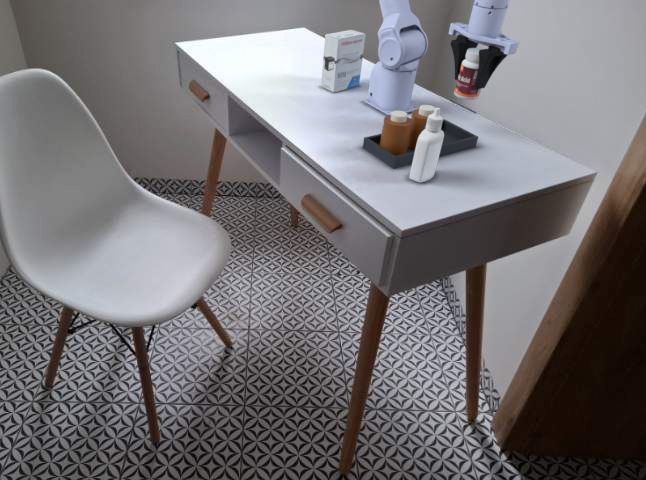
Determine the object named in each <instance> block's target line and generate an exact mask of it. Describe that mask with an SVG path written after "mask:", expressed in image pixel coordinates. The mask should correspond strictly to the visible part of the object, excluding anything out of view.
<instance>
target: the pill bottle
mask: <svg viewBox="0 0 646 480" xmlns="http://www.w3.org/2000/svg"><path fill="white" fill-rule="evenodd" d="M482 49H483V48H480V47H476V48H469V49H467V52H466V57H465V58H466V59H465V60H463V61H462V64H461V68H460V72H459V76H458V79H457V80H456V83H455V88H454V92H453V94H454V96H455V97H457V98H458V99H461V100H465V101H466V100H468V101H475V100H478V99H479V97H480V94H481V91H482V88H481V89H476V88H475V81H476V77H477V73H478V68H479V50H482Z"/></svg>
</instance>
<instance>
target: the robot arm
mask: <svg viewBox="0 0 646 480" xmlns="http://www.w3.org/2000/svg"><path fill="white" fill-rule="evenodd" d="M378 2H379V7H380V11H381V12H380V13H381V16H382V23H381V25H380V26H379V29H378V31H377V37H378V47H377V54H378V59H379V61H377V62H376V63H375V64H374V65H373V67H372V69H371V71H370V77H369V84H368V90H367V96H366V97H367V98H365V99H363V103H366V105H369V106H371V107H372V108H374V109H375V110H378V111H379V112H381V113H382V114H384V115H386V116H388V115H391V113H392V112H393V111H404V112H406V113H407V114H409V113H412V112H413V111H414V110H416V109H419V108H418V107H417V106H415V105H413V104H411V102H412V96H413V92H414V87H415V82H416V77H417V71H418V66H419V64H420V63H419V62H420V59H422V58H423V57H424V56H425V55H426V53H427V51H428V48H429V39H428V35H427V34H426V32H425V30H423V28H422V25H421V21H420V19H419V18H418V17H417V16H416V15H415V14H414V13H413V12H412V10H411V6H410V1H409V0H378ZM509 4H510V0H473V5H472V9H471V14H470V17H469V22H468V24H466V23H462V22H459V21H457V22H451V23H450V25H449V30H448V35H450V36H456V38H455V39H452V40H451V41H450V47H451V50H452V54H453V60H454V61H453V62H454V80H455V81H457V79H458V76H459V72H460V68H461V64H462V61H463V60H465V59H466V58H465V57H466V52H467V49H469V48H478V45H482V46H485V47H487V48H481V49H482V50H479V68H478V73H477V77H476V81H475V88H476V89H481V90H482V89H485V88H486V86H487V84H488V82H489V81H490V79H491V78H492V75H493V74H494V73H495V71H496V69H497V68H498V67H499V66H500V65H501V63H502V62H503V61H504V60H505V59H506V58H507V57H508V56H511V55H515V54H516V53H517V50H518V48H519V43H520V42H519V41H517V40H514V39H513V38H511V37H508V36H507V35H505V34H503V31H502V28H503V26H504V25H503V24H504V22H505V19H506V18H505V17H506V14H507V11H508V7H509Z"/></svg>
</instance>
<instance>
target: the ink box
mask: <svg viewBox="0 0 646 480" xmlns="http://www.w3.org/2000/svg"><path fill="white" fill-rule="evenodd" d="M365 42H366V33H364V32H362V31H357V30H354V29H347V30H342V31H337V32H332V33H326V34H324V44H323V45H324V47H323V58H322V59H323V60H322V70H321V71H322V72H321V81H320V87H321V88H323V89H326V90H328V91H330V92H332V93H337V92H341V91H345V90H349V89H353V88H355V87H359V86H360V81H361V74H362V73H361V72H362V65H363V57H364V51H365Z"/></svg>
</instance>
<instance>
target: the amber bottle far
mask: <svg viewBox="0 0 646 480" xmlns="http://www.w3.org/2000/svg"><path fill="white" fill-rule="evenodd" d="M412 123H413V121H412V120H411V117H408V113H406V112H404V111H393V112H392V113H391V115H386V116H384V118H383V123H382V129H381V133H380V134H381V140H380V146H381V147H383V148H384V149H386V150H387V151H389V152H391V153H392V154H394V155H395V156H398V155H402V154H406V151H407V147H408V142H409V137H410V132H411V127H412Z"/></svg>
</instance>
